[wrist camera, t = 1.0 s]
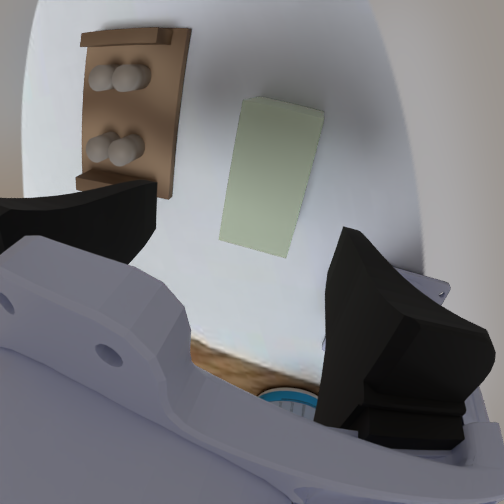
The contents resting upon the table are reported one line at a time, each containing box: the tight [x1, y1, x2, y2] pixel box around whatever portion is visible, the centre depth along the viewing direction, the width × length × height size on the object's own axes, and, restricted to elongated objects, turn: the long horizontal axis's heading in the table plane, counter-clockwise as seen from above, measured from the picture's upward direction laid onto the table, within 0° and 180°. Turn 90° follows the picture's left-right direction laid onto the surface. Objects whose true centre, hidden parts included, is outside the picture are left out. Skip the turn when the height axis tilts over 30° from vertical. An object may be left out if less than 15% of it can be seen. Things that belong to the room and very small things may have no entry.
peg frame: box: [76, 27, 191, 200], centre depth 19 cm, size 12×8×3 cm, turn 170°
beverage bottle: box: [258, 387, 318, 421], centre depth 24 cm, size 8×8×20 cm
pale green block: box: [219, 96, 324, 258], centre depth 18 cm, size 8×4×4 cm, turn 168°
